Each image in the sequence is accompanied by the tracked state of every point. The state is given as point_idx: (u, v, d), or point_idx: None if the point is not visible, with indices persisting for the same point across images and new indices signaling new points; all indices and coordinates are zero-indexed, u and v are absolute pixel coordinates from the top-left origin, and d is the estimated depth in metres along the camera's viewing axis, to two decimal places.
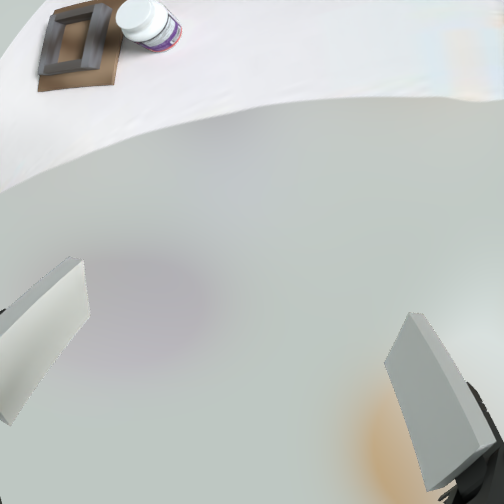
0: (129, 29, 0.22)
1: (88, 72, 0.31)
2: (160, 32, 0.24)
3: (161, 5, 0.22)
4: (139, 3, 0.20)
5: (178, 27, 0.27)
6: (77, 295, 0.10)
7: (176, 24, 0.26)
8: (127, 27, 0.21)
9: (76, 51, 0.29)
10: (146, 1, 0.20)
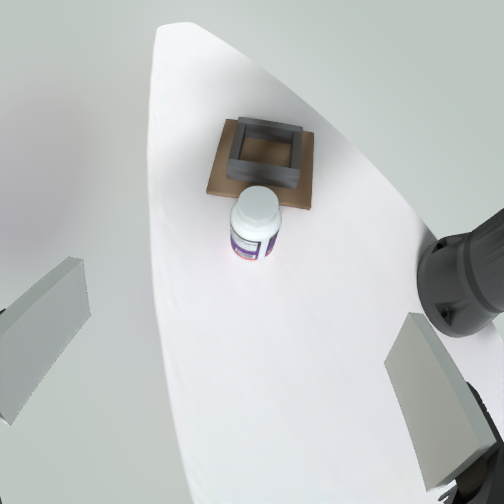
0: (238, 200, 0.29)
1: (226, 168, 0.41)
2: (237, 234, 0.31)
3: (270, 233, 0.31)
4: (268, 208, 0.29)
5: (252, 255, 0.35)
6: (77, 295, 0.10)
7: (254, 253, 0.34)
8: (240, 198, 0.29)
9: (254, 155, 0.42)
10: (269, 215, 0.29)
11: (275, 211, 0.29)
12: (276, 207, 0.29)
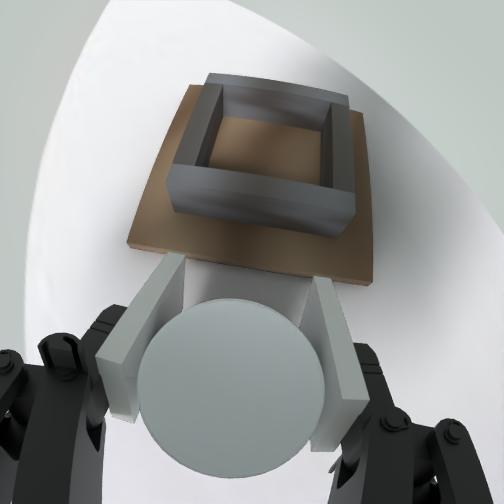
0: None
1: None
2: None
3: None
4: (276, 424, 0.05)
5: None
6: (179, 288, 0.12)
7: None
8: (145, 368, 0.06)
9: (243, 155, 0.19)
10: (278, 457, 0.05)
11: (308, 433, 0.05)
12: (314, 414, 0.06)
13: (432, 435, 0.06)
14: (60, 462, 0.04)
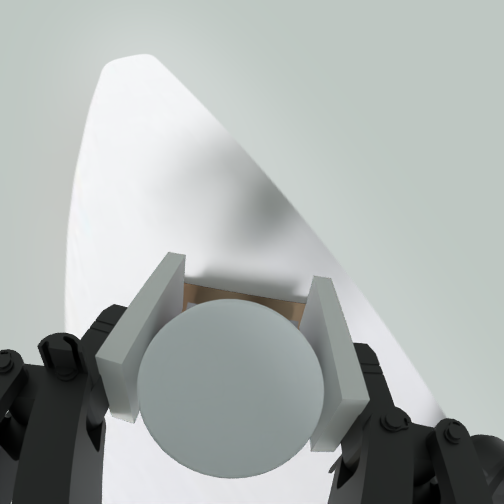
0: None
1: None
2: None
3: None
4: (276, 425, 0.05)
5: None
6: (179, 288, 0.12)
7: None
8: (145, 368, 0.06)
9: None
10: (278, 458, 0.05)
11: (307, 433, 0.05)
12: (313, 414, 0.06)
13: (432, 435, 0.06)
14: (60, 462, 0.04)
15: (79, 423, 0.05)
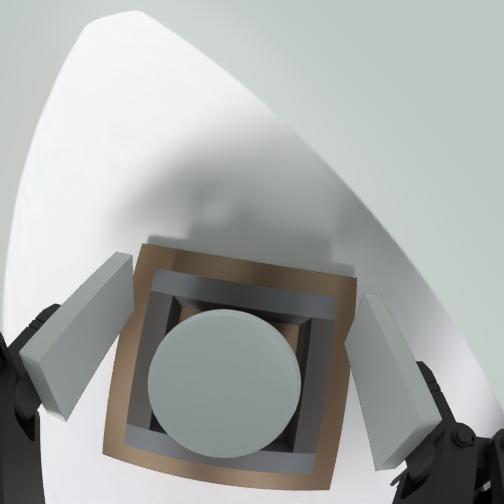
0: None
1: None
2: None
3: None
4: (259, 414, 0.07)
5: None
6: (126, 289, 0.11)
7: None
8: (154, 369, 0.07)
9: None
10: (261, 441, 0.07)
11: (284, 421, 0.07)
12: (289, 406, 0.07)
13: (491, 442, 0.05)
14: None
15: (6, 410, 0.04)
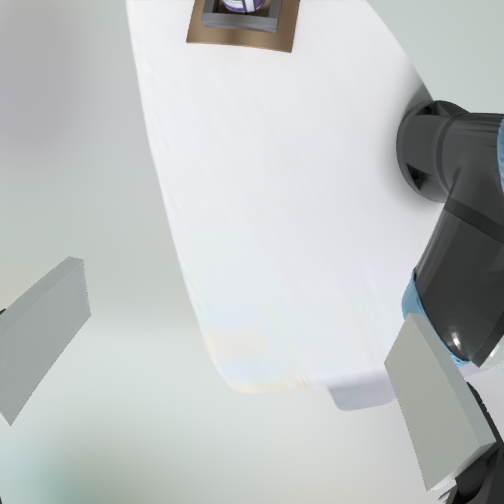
0: None
1: None
2: None
3: None
4: None
5: (242, 11, 0.29)
6: (77, 295, 0.10)
7: (242, 9, 0.28)
8: None
9: None
10: None
11: None
12: None
13: None
14: None
15: None
